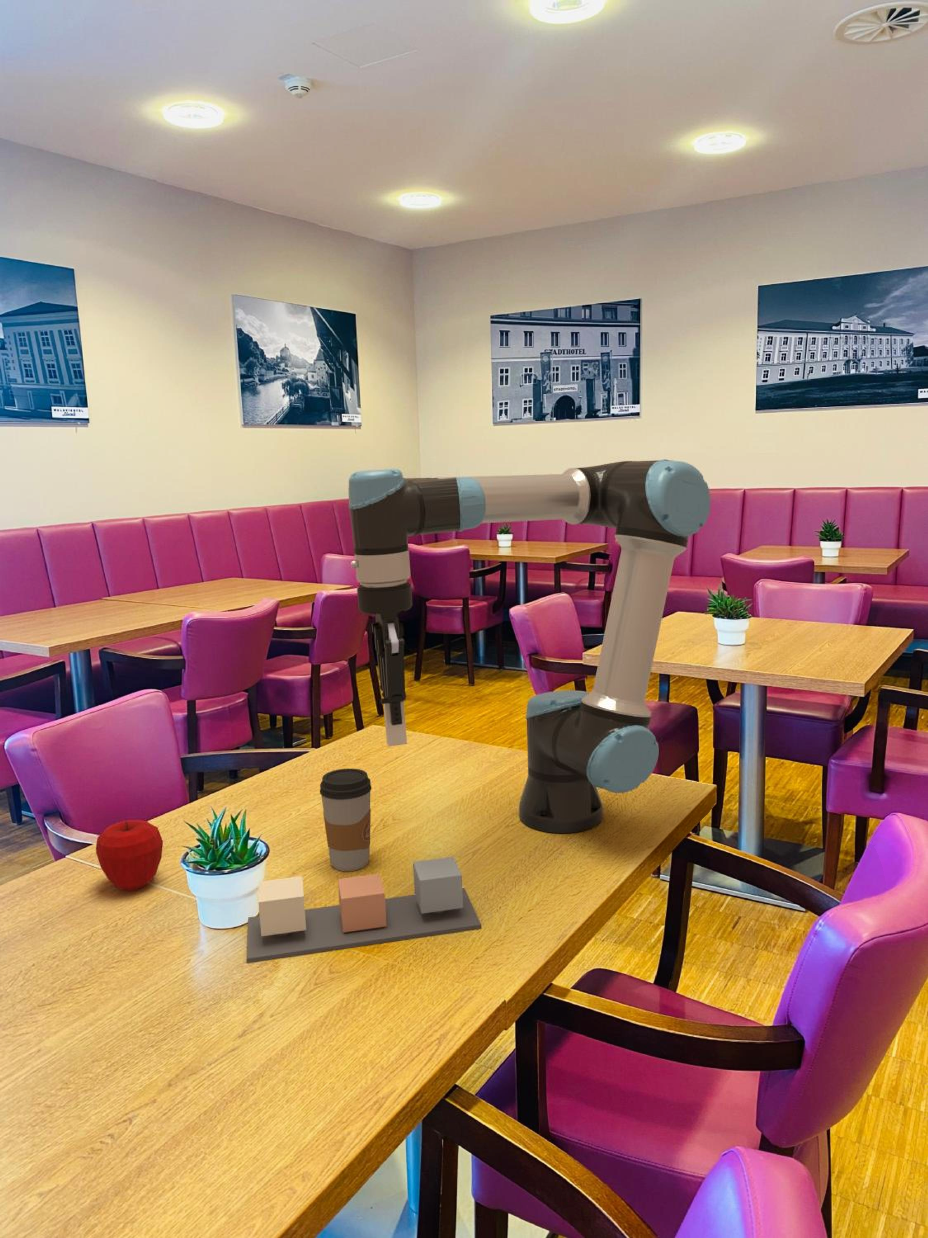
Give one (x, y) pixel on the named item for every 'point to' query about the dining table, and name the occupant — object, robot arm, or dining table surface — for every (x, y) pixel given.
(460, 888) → the block slate
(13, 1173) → the dining table surface
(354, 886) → the block terracotta
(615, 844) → the dining table surface
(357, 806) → the coffee cup
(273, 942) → the strip
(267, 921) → the block cream
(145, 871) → the apple
